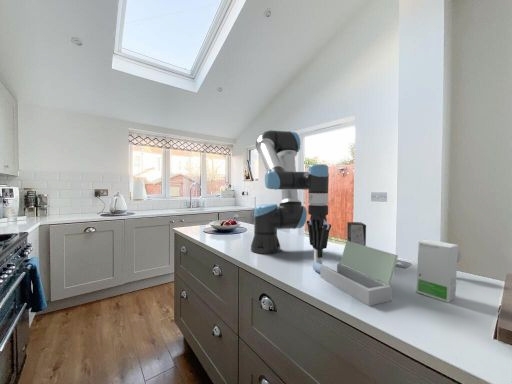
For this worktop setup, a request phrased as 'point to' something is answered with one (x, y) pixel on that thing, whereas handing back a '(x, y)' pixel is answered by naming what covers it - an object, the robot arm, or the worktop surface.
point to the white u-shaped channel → (357, 284)
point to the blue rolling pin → (318, 267)
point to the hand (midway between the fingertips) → (317, 265)
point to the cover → (369, 261)
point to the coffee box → (356, 232)
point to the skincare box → (437, 269)
